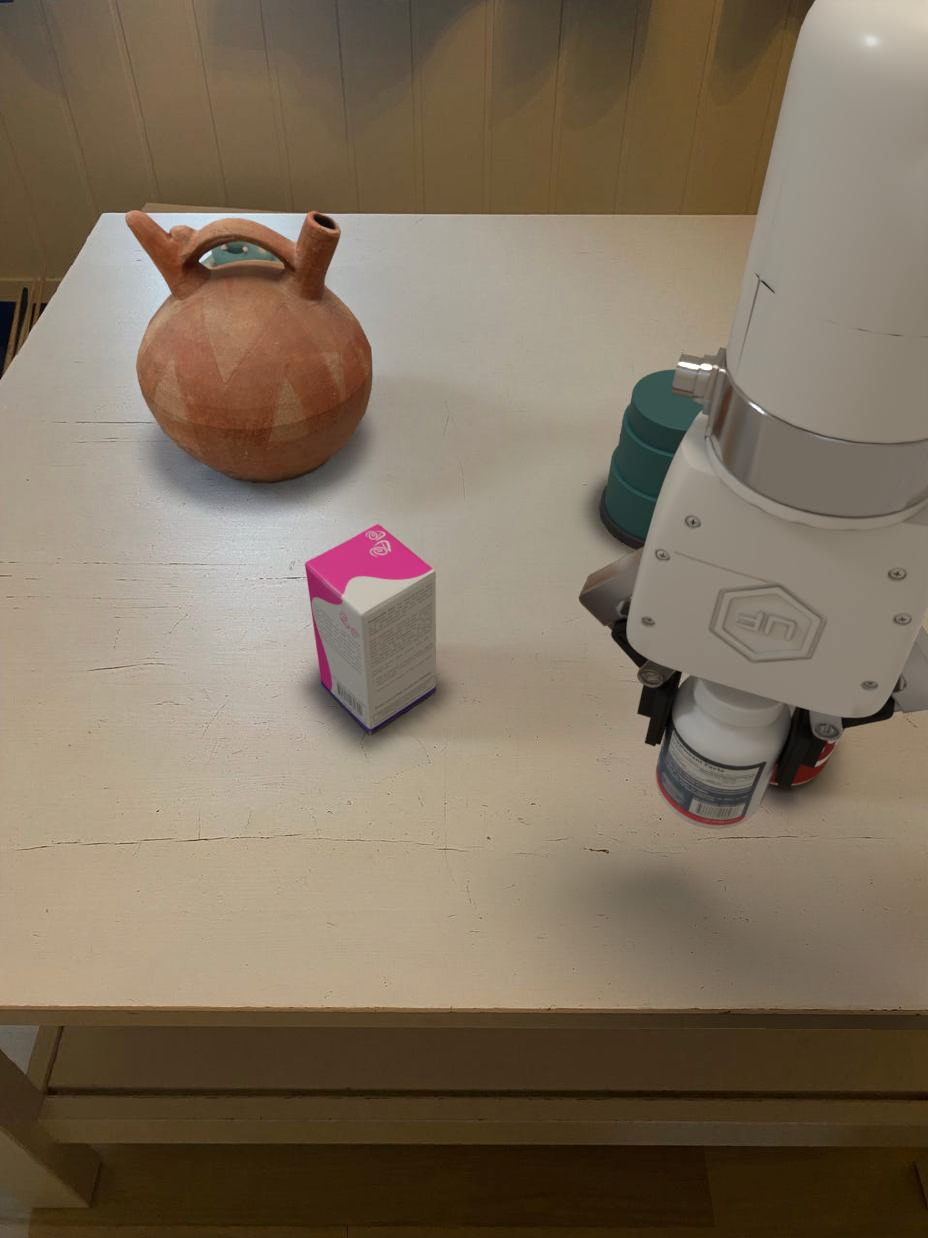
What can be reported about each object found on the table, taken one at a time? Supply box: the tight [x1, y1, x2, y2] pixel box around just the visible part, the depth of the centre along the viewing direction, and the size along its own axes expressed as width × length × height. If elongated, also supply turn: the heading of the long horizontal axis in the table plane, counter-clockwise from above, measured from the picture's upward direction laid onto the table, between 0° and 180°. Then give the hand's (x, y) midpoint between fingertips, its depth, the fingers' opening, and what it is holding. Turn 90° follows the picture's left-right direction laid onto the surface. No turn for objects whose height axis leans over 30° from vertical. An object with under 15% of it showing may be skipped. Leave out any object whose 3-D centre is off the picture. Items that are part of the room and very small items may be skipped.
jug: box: [124, 209, 374, 484], centre depth 73 cm, size 18×18×20 cm
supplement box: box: [304, 523, 437, 735], centre depth 59 cm, size 6×6×12 cm
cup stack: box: [599, 368, 703, 550], centre depth 72 cm, size 9×9×11 cm
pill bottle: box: [655, 675, 791, 830], centre depth 43 cm, size 5×5×9 cm
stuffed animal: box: [200, 242, 282, 269], centre depth 95 cm, size 11×7×12 cm
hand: (722, 739), depth 44 cm, fingers closed on pill bottle, 5 cm apart
